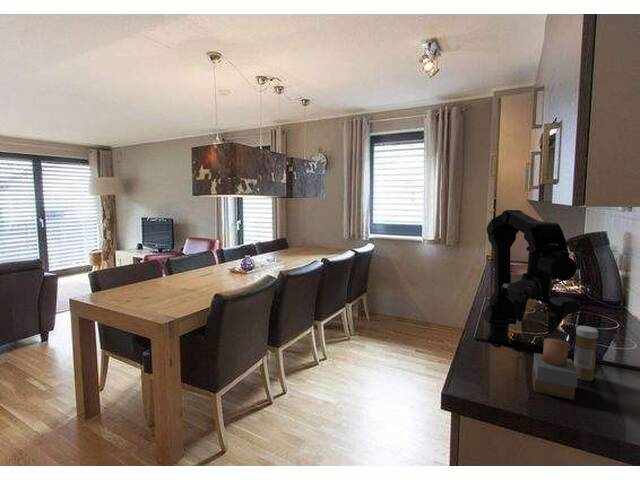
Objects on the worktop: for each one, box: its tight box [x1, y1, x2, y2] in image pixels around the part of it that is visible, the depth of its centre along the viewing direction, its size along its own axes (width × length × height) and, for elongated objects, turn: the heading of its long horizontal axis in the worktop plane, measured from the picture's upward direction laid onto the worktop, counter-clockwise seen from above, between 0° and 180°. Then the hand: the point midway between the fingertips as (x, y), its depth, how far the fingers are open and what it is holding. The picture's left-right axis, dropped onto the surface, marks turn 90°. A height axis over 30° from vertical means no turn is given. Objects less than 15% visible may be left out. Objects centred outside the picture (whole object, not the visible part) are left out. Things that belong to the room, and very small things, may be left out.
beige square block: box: [531, 366, 576, 401], centre depth 88 cm, size 8×8×4 cm
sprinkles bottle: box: [573, 325, 599, 382], centre depth 92 cm, size 5×5×13 cm
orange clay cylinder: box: [542, 337, 569, 366], centre depth 87 cm, size 5×5×5 cm
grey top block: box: [532, 352, 579, 389], centre depth 87 cm, size 8×8×4 cm
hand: (534, 327), depth 94 cm, fingers open, 9 cm apart
